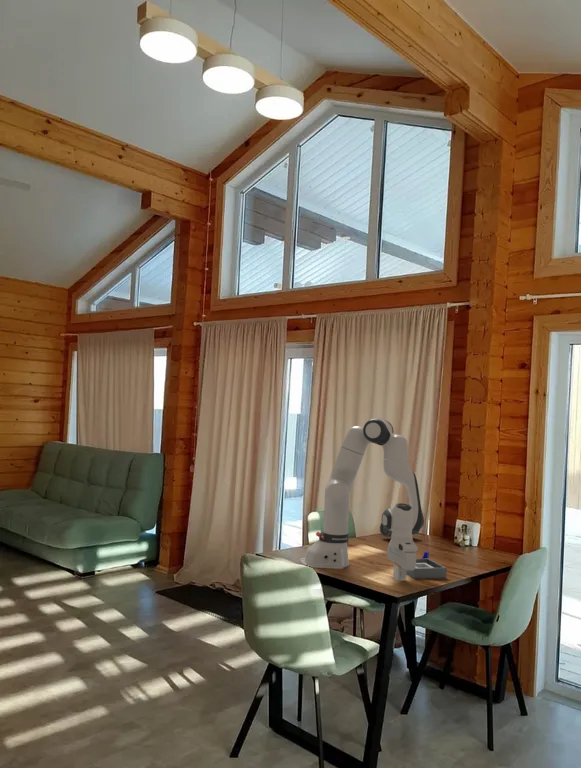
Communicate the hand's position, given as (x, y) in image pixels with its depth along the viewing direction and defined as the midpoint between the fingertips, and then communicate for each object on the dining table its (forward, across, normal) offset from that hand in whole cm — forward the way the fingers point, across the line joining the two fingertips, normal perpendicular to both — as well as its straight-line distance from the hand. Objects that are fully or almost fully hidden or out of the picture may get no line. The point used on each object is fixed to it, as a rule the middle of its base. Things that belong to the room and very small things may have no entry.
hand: (399, 575), depth 277 cm
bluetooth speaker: (+3, -80, +40) cm, 89 cm away
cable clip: (+3, -28, +22) cm, 36 cm away
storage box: (+3, -9, +15) cm, 18 cm away
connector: (+3, 0, 0) cm, 3 cm away
